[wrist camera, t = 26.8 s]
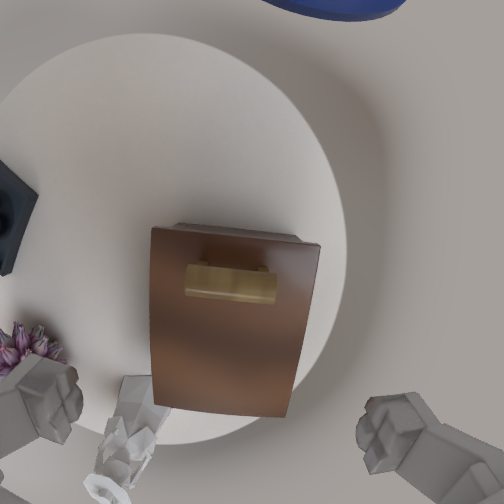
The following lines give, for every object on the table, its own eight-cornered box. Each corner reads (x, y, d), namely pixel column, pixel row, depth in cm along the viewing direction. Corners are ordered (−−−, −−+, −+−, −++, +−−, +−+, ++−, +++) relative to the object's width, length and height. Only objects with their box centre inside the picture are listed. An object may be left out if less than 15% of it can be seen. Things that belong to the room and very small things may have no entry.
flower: (25, 297, 31) (87, 326, 29) (35, 370, 33) (94, 405, 31) (-40, 321, 20) (15, 367, 18) (-17, 403, 22) (42, 453, 20)
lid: (154, 225, 20) (129, 238, 15) (318, 243, 21) (340, 260, 16) (155, 399, 23) (142, 437, 18) (284, 412, 24) (291, 452, 19)
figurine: (177, 383, 32) (143, 510, 15) (167, 425, 34) (138, 537, 16) (122, 364, 32) (58, 476, 14) (117, 408, 33) (70, 511, 16)
